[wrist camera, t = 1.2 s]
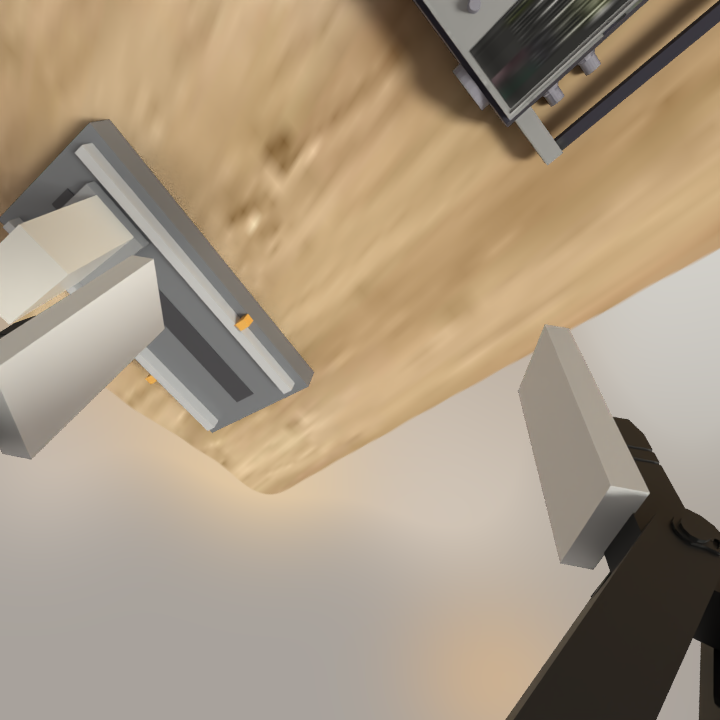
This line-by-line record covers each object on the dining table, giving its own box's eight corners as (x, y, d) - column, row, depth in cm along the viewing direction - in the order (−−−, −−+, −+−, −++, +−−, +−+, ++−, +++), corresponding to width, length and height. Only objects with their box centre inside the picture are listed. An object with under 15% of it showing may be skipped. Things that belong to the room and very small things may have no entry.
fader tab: (41, 231, 39) (-51, 270, 32) (94, 181, 36) (5, 210, 29) (94, 286, 42) (20, 334, 34) (149, 243, 38) (80, 286, 31)
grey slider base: (19, 211, 42) (-14, 223, 39) (109, 119, 36) (79, 124, 33) (221, 418, 53) (207, 440, 50) (314, 372, 47) (305, 393, 44)
